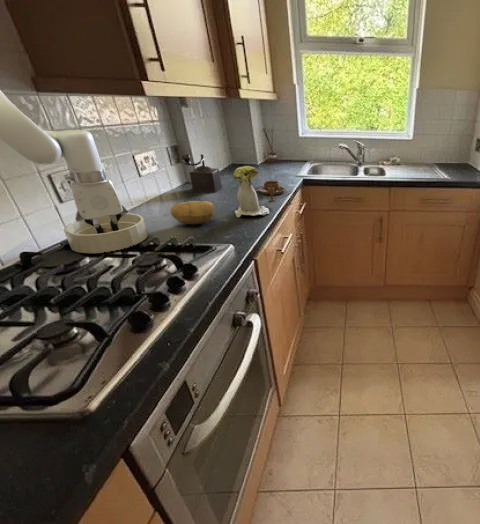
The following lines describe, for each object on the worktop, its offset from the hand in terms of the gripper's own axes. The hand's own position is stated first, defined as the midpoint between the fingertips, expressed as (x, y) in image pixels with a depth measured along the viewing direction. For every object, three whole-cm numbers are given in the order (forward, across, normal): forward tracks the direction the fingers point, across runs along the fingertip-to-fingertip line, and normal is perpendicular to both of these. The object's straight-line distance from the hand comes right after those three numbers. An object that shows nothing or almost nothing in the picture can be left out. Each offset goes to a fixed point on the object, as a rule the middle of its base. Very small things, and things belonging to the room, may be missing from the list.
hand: (109, 236), depth 102 cm
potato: (+2, +25, -1) cm, 25 cm away
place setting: (+2, +65, +17) cm, 67 cm away
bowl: (+2, 0, 0) cm, 2 cm away
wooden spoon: (0, 0, 0) cm, 0 cm away
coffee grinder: (+2, +46, +41) cm, 61 cm away
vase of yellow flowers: (+2, +46, -3) cm, 46 cm away
